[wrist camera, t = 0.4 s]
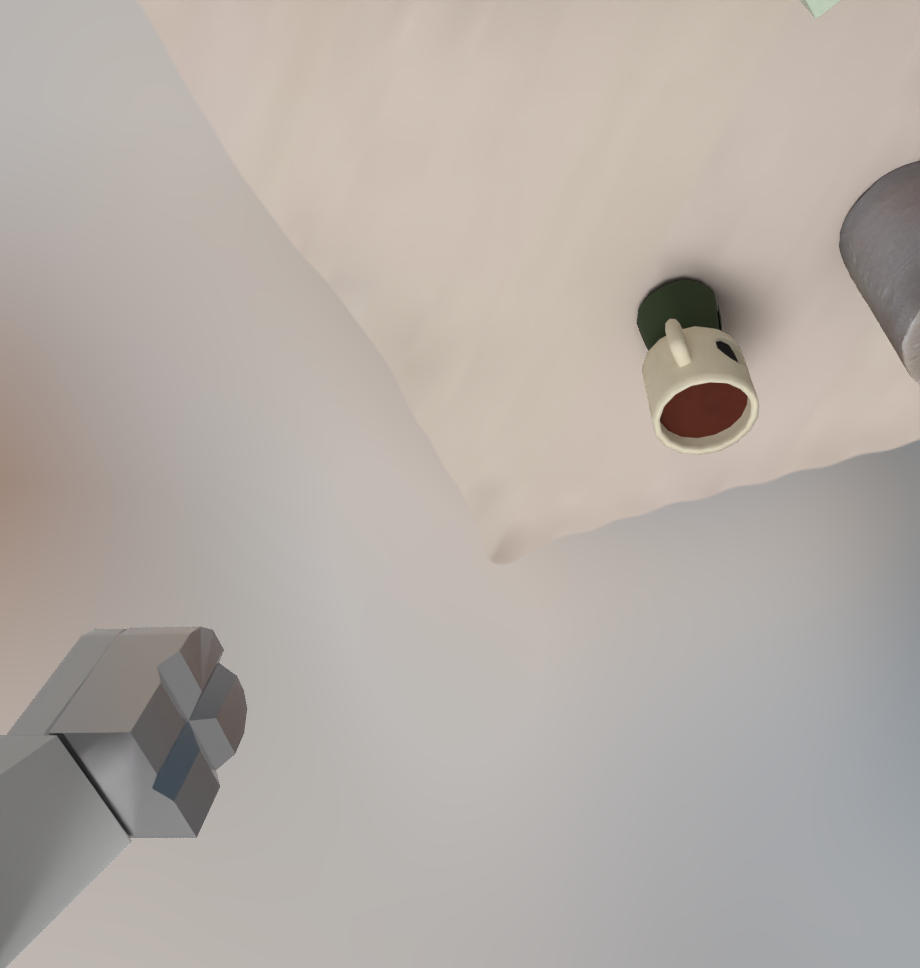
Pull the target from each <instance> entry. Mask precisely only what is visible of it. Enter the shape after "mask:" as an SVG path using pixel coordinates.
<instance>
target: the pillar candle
mask: <svg viewBox="0 0 920 968" xmlns="http://www.w3.org/2000/svg"><path fill="white" fill-rule="evenodd" d="M839 248H840V252H841V256H842V259H843V261H844V264H845V266H846V268H847V270H848V272H849V274H850V276H851V278H852V280H853V281H854V283H855V284H856V286H857V288H858V290H859V292H860V293H861V295H862V297H863V298H864V300H865V301H866V302H867V304H868V305H869V307H870V309H871V311H872V312H873V314H874V316H875V318H876V319H877V321H878V322H879V324H880V326H881V327H882V329H883V331H884V332H885V334H886V336H887V337H888V339H889V341H890V342H891V344H892V346H893V347H894V349H895V351H896V352H897V354H898V356H899V358H900V359H901V361H902V363H903V365H904V366H905V368H906V370H907V371H908V373H909V375H910V376H911V377H912V378H913V379H914V380H915V381H916V382H918V383H919V384H920V161H919V162H915V163H910V164H908V165H905V166H902V167H900V168H898V169H895V170H893V171H891V172H889V173H888V174H886V175H884V176H883V177H882V178H880V179H879V180H878V181H877V182H876V183H875V184H874V185H873V186H872V187H871V188H870V189H869V190H868V191H867V192H866V193H865V194H864V195H863V196H862V197H861V198H860V199H859V200H858V201H857V203H856V204H855V205H854V206H853V208H852V209H851V210H850V212H849V213H848V215H847V216H846V218H845V221H844V223H843V226H842V229H841V232H840V243H839Z"/></svg>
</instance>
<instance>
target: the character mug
mask: <svg viewBox="0 0 920 968" xmlns="http://www.w3.org/2000/svg"><path fill="white" fill-rule="evenodd" d="M637 325H638V328H639V331H640V333H641V336H642V338H643V340H644V343H645V345H646V347H647V349H648V352H647V355H646V358H645V361H644V364H643V369H642V372H643V378H644V383H645V388H646V392H647V397H648V402H649V407H650V412H651V417H652V422H653V427H654V431H655V435H656V436H657V437H658V438H659V440H660V441H661V442H662V443H663V444H664V445H665V446H666V447H668V448H671V449H673V450H675V451H678V452H680V453H686V454H698V455H701V454H707V453H712V452H717V451H721V450H723V449H725V448H727V447H729V446H731V445H733V444H735V443H737V442H738V441H739V440H740V439H741V438H742V437H744V436H745V435H746V434H747V433H748V432H749V431H750V430H751V429H752V427H753V425H754V423H755V421H756V419H757V417H758V413H759V402H758V398H757V395H756V392H755V389H754V386H753V383H752V380H751V378H750V375H749V371H748V368H747V365H746V362H745V360H744V357H743V355H742V352H741V349H740V347H739V345H738V344H737V342H736V341H735V340H734V339H733V338H732V337H731V336H730V335H729V334H727V333H724V332H722V324H721V316H720V311H719V306H718V312H717V306H716V301H715V296H714V293H713V291H712V290H711V289H710V288H708V287H707V286H705V285H704V284H702V283H701V282H697V281H690V280H684V279H682V280H679V281H676V282H673V283H670V284H667V285H664V286H663V287H661V288H660V289H658V290H657V291H655V292H654V293H652V294H650V295H649V296H648V297H647V299H646V300H645V301H644V303H643V304H642V305H641V307H640V308H639V311H638V318H637Z"/></svg>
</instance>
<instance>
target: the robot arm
mask: <svg viewBox="0 0 920 968" xmlns="http://www.w3.org/2000/svg"><path fill="white" fill-rule="evenodd" d="M223 651H224V649H223V647H222V646H221V644H220V642H219V640H218V638H217V637H216V635H215V633H214V631H213V630H211V629H207V628H203V627H161V628H160V627H158V628H157V627H156V628H154V627H153V628H129V629H94V630H92V631H90V632H89V633H87V634H84V635H83V636H81V637H80V639H79V640H78V641H77V642H76V644H75V645H74V646H73V648H72V649H71V650H70V652H69V653H68V654H67V656H66V657H65V658H64V660H63V661H62V662H61V663H60V665H59V666H58V668H57V669H56V670H55V671H54V673H53V674H52V675H51V677H50V678H49V679H48V681H47V682H46V683H45V685H44V686H43V687H42V689H41V690H40V691H39V692H38V694H37V695H36V696H35V698H34V699H33V700H32V702H31V703H30V705H29V706H28V707H27V708H26V710H25V711H24V712H23V714H22V715H21V716H20V718H19V719H18V720H17V721H16V723H15V724H14V726H13V727H12V728H11V730H10V731H9V732H8V733H7V735H0V968H5V967H6V966H7V965H8V964H9V963H10V962H11V961H12V960H13V959H14V958H15V957H16V956H17V955H18V954H19V953H20V952H21V951H22V950H23V949H24V948H25V947H26V946H27V945H28V944H29V943H30V942H31V941H32V940H33V939H34V938H35V937H36V936H37V935H38V934H39V933H40V932H41V931H42V930H43V929H44V928H45V927H46V926H47V925H48V924H49V923H50V922H51V921H52V920H54V919H55V918H56V917H57V916H58V915H59V914H60V913H61V912H62V910H63V909H65V908H66V906H68V905H69V903H71V901H73V899H74V898H75V897H77V896H78V894H80V893H81V892H82V891H83V889H85V888H86V887H87V886H88V885H89V884H90V883H91V882H92V881H93V880H94V879H95V878H96V877H97V875H99V874H100V873H101V872H102V871H103V870H104V869H105V868H106V867H107V866H108V865H109V864H110V862H112V861H113V860H114V859H115V858H116V857H117V856H118V855H119V854H120V853H121V852H122V851H123V850H124V848H126V847H127V846H128V845H129V844H130V843H131V839H130V838H196V837H197V836H198V833H199V831H200V829H201V827H202V825H203V823H204V820H205V818H206V816H207V814H208V812H209V810H210V807H211V805H212V803H213V801H214V798H215V797H216V795H217V792H218V790H219V788H220V784H219V780H218V777H217V772H216V770H217V769H218V768H219V767H220V766H221V765H223V764H224V763H225V762H226V761H227V760H228V759H230V758H231V757H232V756H233V755H234V754H235V753H236V751H237V748H238V746H239V744H240V741H241V739H242V737H243V734H244V729H245V721H246V713H247V706H246V700H245V695H244V690H243V688H242V686H241V684H240V682H239V679H238V677H237V676H236V675H235V674H233V673H232V672H230V671H229V670H228V669H226V668H225V667H224V666H222V665H221V664H220V663H219V661H220V659H221V656H222V653H223Z"/></svg>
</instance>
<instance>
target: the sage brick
mask: <svg viewBox="0 0 920 968" xmlns="http://www.w3.org/2000/svg"><path fill="white" fill-rule="evenodd" d="M800 1H801V2H802V3H803V5H804V6H805V7H806V8H807V9H808V10H809V11H810V13H811V14H812V15H813V16H814V17H815V18H818V17H819V16H820V15H822V14H823V13H824V12H825V11H827V10H828V9H829V8H831V7H832V6H833V5H835V4H836V3H837V2H838V1H840V0H800Z"/></svg>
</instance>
